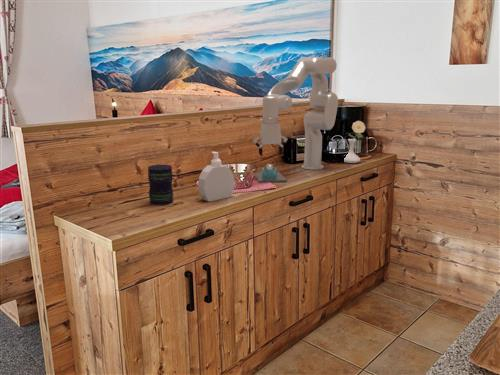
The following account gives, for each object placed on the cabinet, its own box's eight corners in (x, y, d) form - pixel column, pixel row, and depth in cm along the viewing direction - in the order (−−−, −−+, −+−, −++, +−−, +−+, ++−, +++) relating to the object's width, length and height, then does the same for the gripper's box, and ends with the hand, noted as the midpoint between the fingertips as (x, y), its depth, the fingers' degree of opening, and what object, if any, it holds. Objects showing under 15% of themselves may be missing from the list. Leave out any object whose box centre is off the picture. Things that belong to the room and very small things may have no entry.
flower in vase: (340, 163, 275) (342, 121, 269) (342, 160, 285) (344, 119, 279) (362, 165, 271) (365, 122, 265) (363, 161, 282) (366, 120, 276)
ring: (261, 174, 240) (261, 167, 239) (274, 174, 241) (274, 166, 240) (263, 177, 233) (263, 170, 232) (277, 177, 234) (277, 169, 233)
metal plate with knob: (252, 174, 246) (252, 161, 244) (278, 173, 248) (279, 160, 246) (259, 183, 227) (259, 168, 225) (287, 182, 229) (287, 168, 227)
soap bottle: (227, 194, 206) (227, 149, 201) (234, 196, 202) (234, 151, 197) (197, 200, 196) (196, 153, 191) (204, 202, 192) (203, 155, 188)
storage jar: (147, 200, 196) (145, 165, 192) (170, 198, 199) (169, 163, 196) (151, 206, 187) (149, 170, 183) (175, 204, 190) (174, 168, 187)
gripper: (254, 122, 226) (254, 157, 230) (289, 121, 228) (288, 155, 232) (252, 120, 233) (252, 154, 237) (285, 119, 235) (285, 153, 240)
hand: (270, 155), depth 235 cm, fingers open, 9 cm apart
